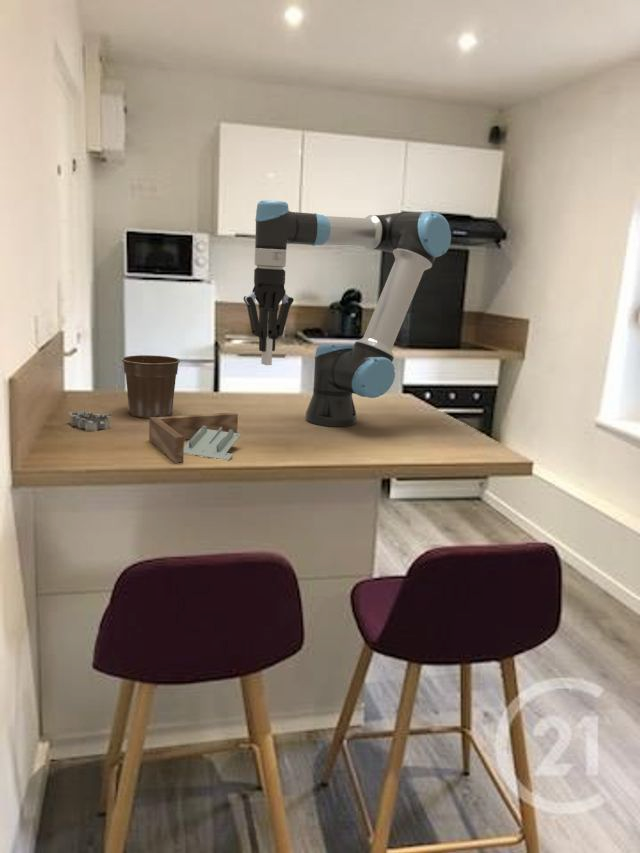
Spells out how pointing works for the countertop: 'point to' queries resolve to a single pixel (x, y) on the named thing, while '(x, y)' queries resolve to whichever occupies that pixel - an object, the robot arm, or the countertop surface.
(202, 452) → the metal bracket
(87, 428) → the egg carton
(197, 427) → the wooden corner frame
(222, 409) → the countertop surface
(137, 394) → the plant pot
